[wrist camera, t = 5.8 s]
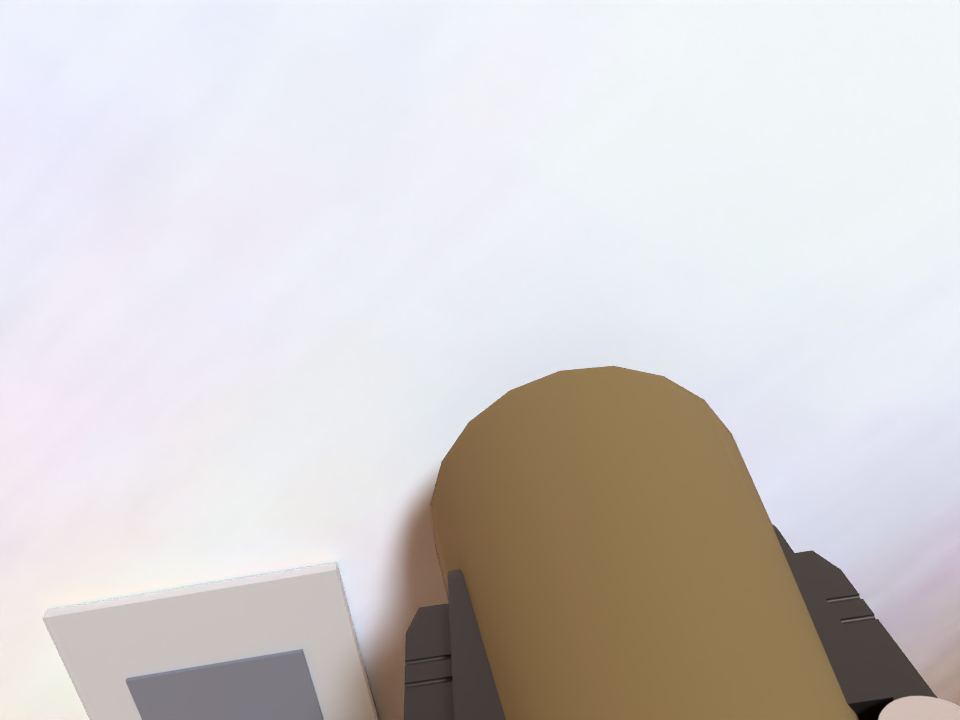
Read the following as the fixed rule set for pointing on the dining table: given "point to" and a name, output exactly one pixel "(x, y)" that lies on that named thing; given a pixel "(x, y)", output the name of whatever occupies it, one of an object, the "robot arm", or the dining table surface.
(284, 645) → the card
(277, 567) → the dining table surface
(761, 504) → the cork
